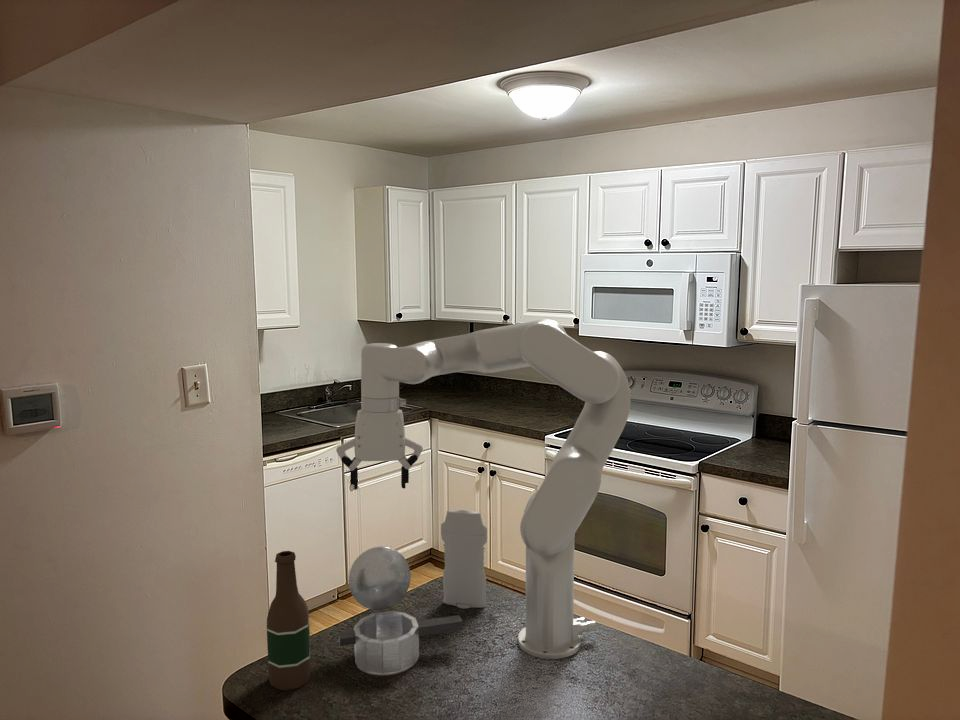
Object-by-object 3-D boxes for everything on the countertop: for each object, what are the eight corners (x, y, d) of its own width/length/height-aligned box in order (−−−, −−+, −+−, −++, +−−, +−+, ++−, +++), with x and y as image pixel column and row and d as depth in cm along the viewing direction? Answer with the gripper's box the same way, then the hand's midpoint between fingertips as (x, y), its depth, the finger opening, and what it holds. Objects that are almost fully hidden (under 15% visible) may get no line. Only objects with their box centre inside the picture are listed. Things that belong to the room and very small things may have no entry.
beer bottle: (300, 693, 122) (295, 563, 119) (260, 689, 124) (254, 560, 121) (319, 669, 130) (314, 546, 127) (281, 665, 131) (275, 543, 129)
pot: (453, 629, 144) (452, 600, 143) (469, 662, 132) (468, 630, 131) (337, 647, 138) (336, 616, 137) (342, 683, 125) (341, 649, 125)
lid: (412, 605, 140) (409, 601, 143) (409, 543, 141) (406, 541, 144) (350, 614, 137) (349, 610, 140) (347, 550, 138) (346, 548, 140)
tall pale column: (489, 602, 156) (489, 508, 154) (485, 611, 152) (484, 514, 150) (444, 598, 159) (443, 505, 156) (439, 606, 155) (437, 511, 152)
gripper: (421, 401, 144) (420, 480, 146) (337, 401, 142) (337, 482, 144) (424, 408, 137) (423, 491, 139) (335, 408, 134) (335, 494, 136)
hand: (379, 487), depth 141 cm, fingers open, 9 cm apart
